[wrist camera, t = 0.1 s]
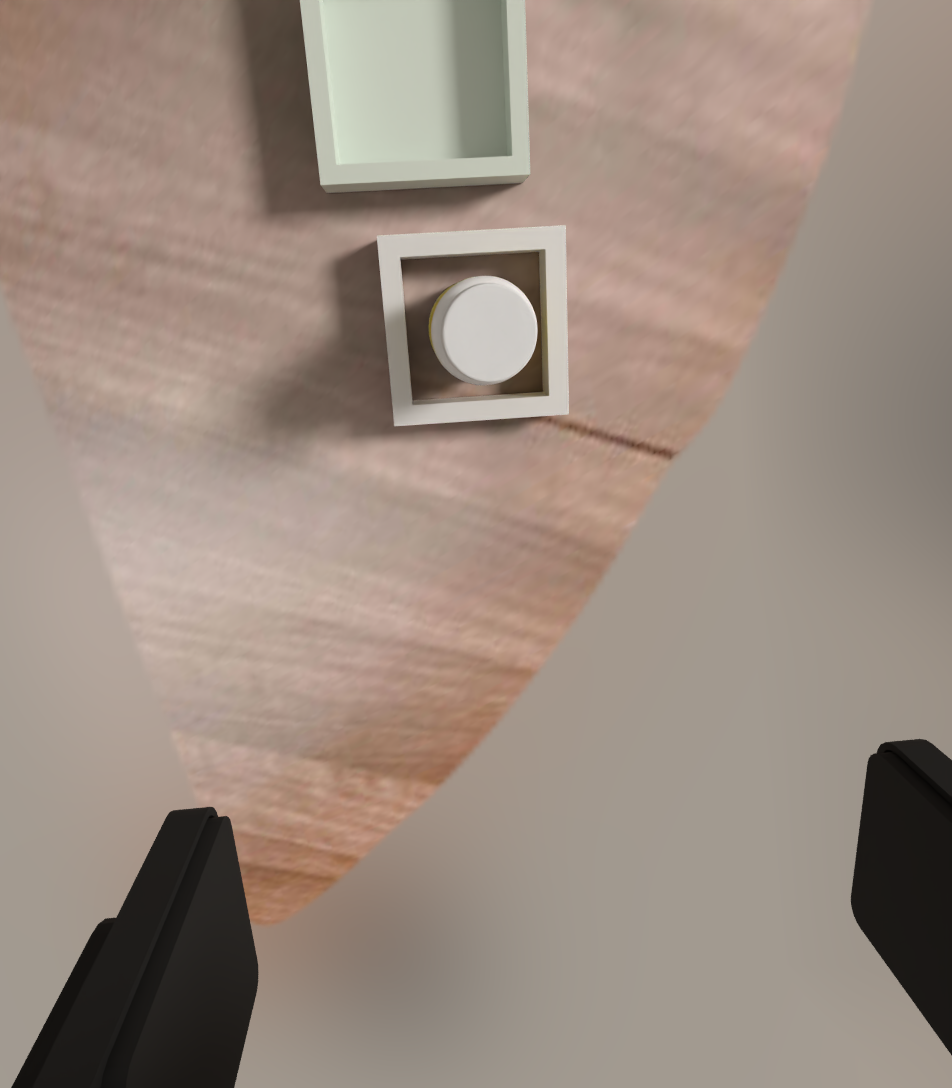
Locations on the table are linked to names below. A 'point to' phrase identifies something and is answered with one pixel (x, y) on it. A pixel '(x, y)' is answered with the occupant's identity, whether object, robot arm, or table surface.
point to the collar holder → (552, 322)
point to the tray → (418, 92)
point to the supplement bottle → (483, 330)
